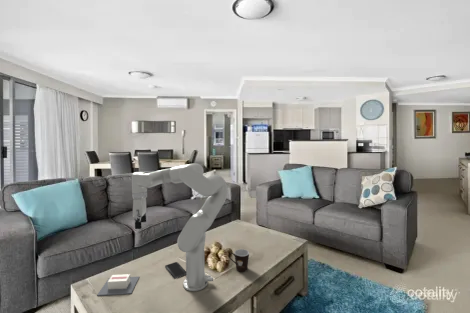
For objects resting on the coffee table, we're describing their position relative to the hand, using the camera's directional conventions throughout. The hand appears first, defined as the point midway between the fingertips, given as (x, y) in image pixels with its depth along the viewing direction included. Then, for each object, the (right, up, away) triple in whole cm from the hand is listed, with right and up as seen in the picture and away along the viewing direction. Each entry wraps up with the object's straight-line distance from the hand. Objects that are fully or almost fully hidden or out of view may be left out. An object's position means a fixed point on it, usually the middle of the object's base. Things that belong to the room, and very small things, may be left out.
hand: (140, 225), depth 136 cm
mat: (-8, -29, -8) cm, 31 cm away
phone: (+18, -28, +7) cm, 34 cm away
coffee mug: (+55, -28, +9) cm, 62 cm away
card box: (-8, -29, -8) cm, 31 cm away
